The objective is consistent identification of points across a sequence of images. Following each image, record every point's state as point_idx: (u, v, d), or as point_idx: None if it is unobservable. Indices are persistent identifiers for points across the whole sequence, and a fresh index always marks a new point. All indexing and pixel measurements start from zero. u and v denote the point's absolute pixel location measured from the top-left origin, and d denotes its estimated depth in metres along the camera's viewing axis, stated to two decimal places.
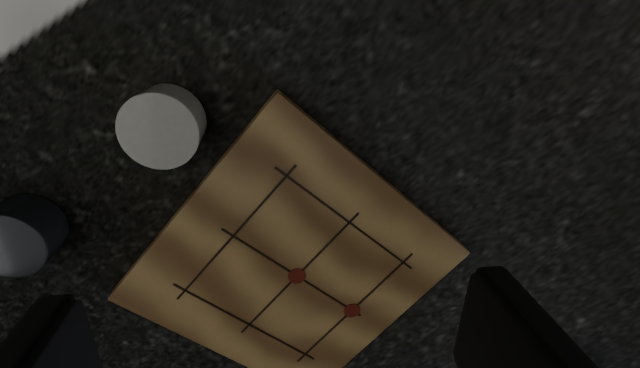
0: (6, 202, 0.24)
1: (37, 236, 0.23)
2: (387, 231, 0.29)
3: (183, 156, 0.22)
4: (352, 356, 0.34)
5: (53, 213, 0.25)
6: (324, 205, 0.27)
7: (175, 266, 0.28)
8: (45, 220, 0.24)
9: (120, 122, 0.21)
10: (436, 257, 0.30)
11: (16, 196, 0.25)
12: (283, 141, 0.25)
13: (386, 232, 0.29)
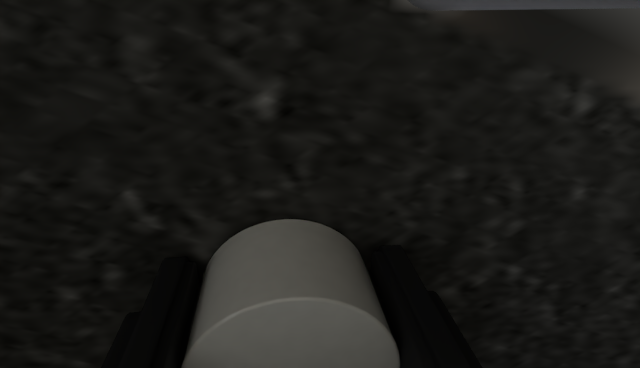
0: None
1: None
2: None
3: None
4: None
5: None
6: None
7: None
8: None
9: (252, 320, 0.07)
10: None
11: None
12: None
13: None
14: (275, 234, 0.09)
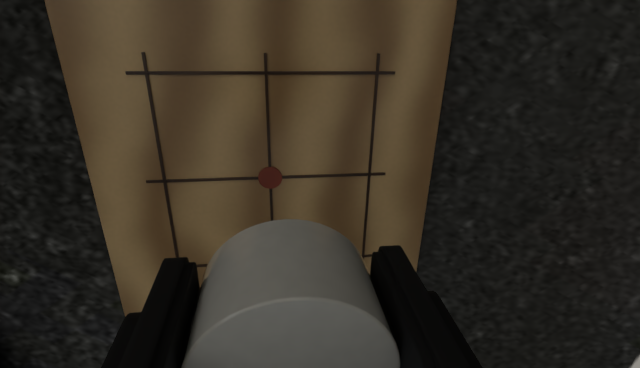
0: None
1: None
2: (384, 215, 0.24)
3: None
4: None
5: None
6: (372, 136, 0.22)
7: (170, 36, 0.19)
8: None
9: (252, 320, 0.07)
10: None
11: None
12: (411, 39, 0.20)
13: (382, 215, 0.24)
14: (275, 234, 0.09)
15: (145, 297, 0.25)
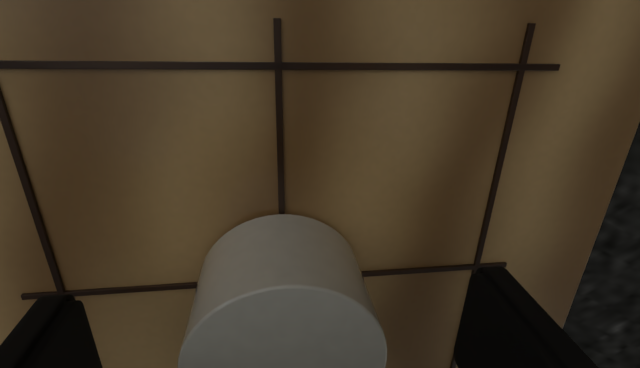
0: None
1: None
2: None
3: None
4: None
5: None
6: (492, 197, 0.11)
7: None
8: None
9: (246, 306, 0.07)
10: None
11: None
12: None
13: None
14: (269, 227, 0.09)
15: None
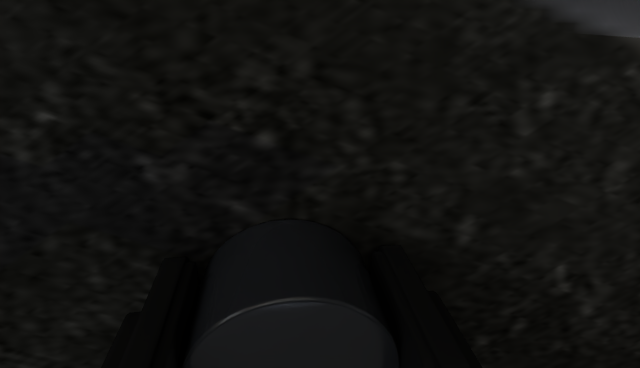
0: (352, 262, 0.09)
1: None
2: None
3: None
4: None
5: None
6: None
7: None
8: None
9: None
10: None
11: (350, 246, 0.10)
12: None
13: None
14: None
15: None
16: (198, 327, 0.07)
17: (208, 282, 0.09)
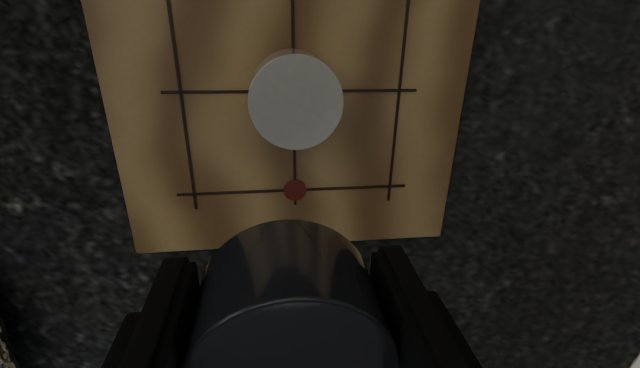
0: (352, 262, 0.09)
1: None
2: (413, 139, 0.23)
3: (290, 142, 0.19)
4: None
5: None
6: (403, 44, 0.20)
7: None
8: None
9: (279, 63, 0.17)
10: (416, 211, 0.25)
11: (350, 246, 0.10)
12: None
13: (411, 139, 0.23)
14: (287, 49, 0.19)
15: (158, 228, 0.23)
16: (198, 327, 0.07)
17: (208, 282, 0.09)
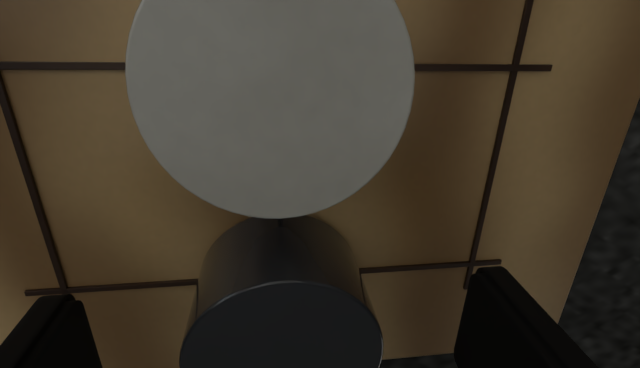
0: (340, 251, 0.10)
1: None
2: (528, 173, 0.11)
3: (263, 201, 0.07)
4: None
5: None
6: None
7: None
8: None
9: None
10: None
11: (339, 237, 0.10)
12: None
13: (525, 172, 0.11)
14: None
15: None
16: (197, 309, 0.08)
17: (206, 270, 0.09)
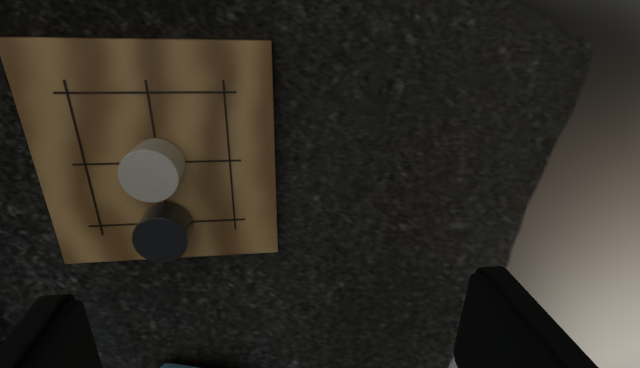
0: (180, 213, 0.34)
1: (183, 250, 0.33)
2: (245, 190, 0.35)
3: (148, 198, 0.31)
4: (132, 258, 0.36)
5: (191, 234, 0.35)
6: (227, 134, 0.32)
7: (81, 69, 0.29)
8: (189, 239, 0.34)
9: (134, 155, 0.29)
10: (256, 235, 0.37)
11: (183, 209, 0.34)
12: (244, 70, 0.31)
13: (244, 190, 0.35)
14: (148, 140, 0.31)
15: (78, 247, 0.35)
16: None
17: (141, 217, 0.33)
